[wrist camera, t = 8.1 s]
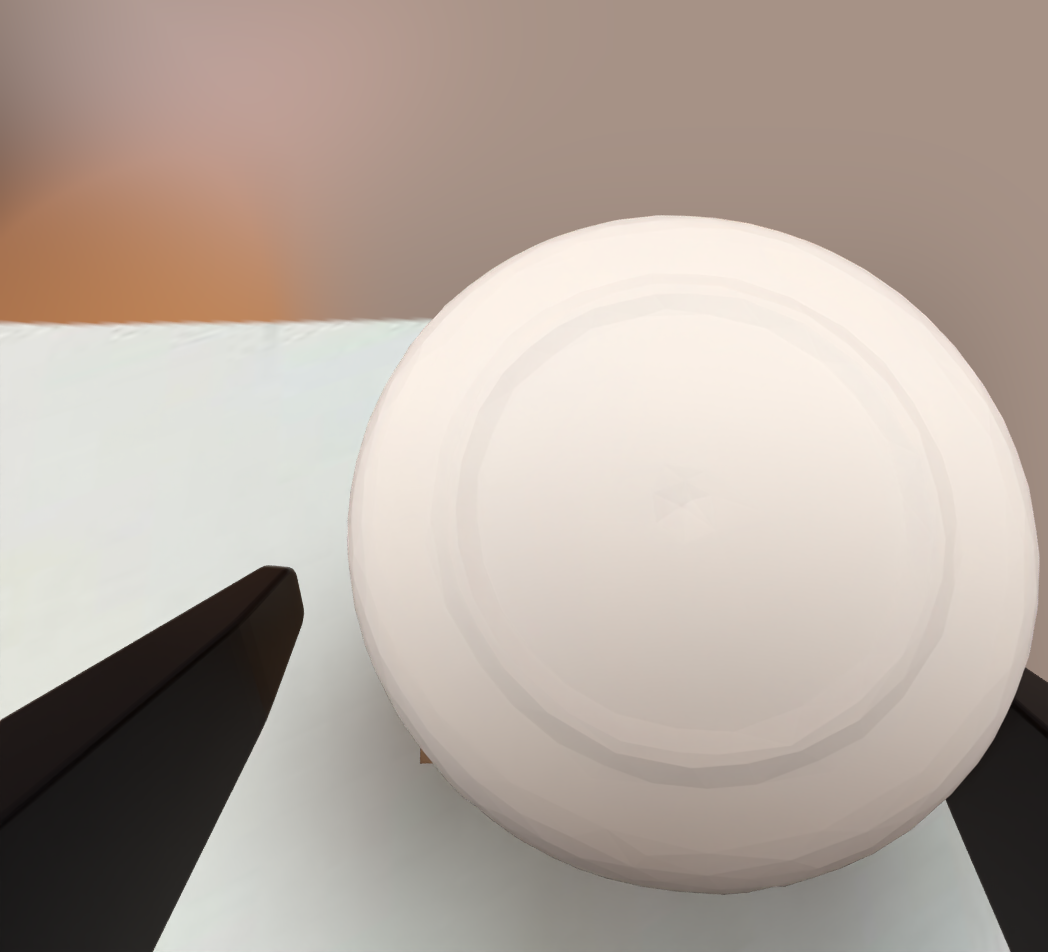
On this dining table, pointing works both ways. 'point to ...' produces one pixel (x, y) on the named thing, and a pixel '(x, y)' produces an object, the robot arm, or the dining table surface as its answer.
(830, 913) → the dining table surface
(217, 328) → the dining table surface
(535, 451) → the sprinkles bottle
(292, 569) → the robot arm
